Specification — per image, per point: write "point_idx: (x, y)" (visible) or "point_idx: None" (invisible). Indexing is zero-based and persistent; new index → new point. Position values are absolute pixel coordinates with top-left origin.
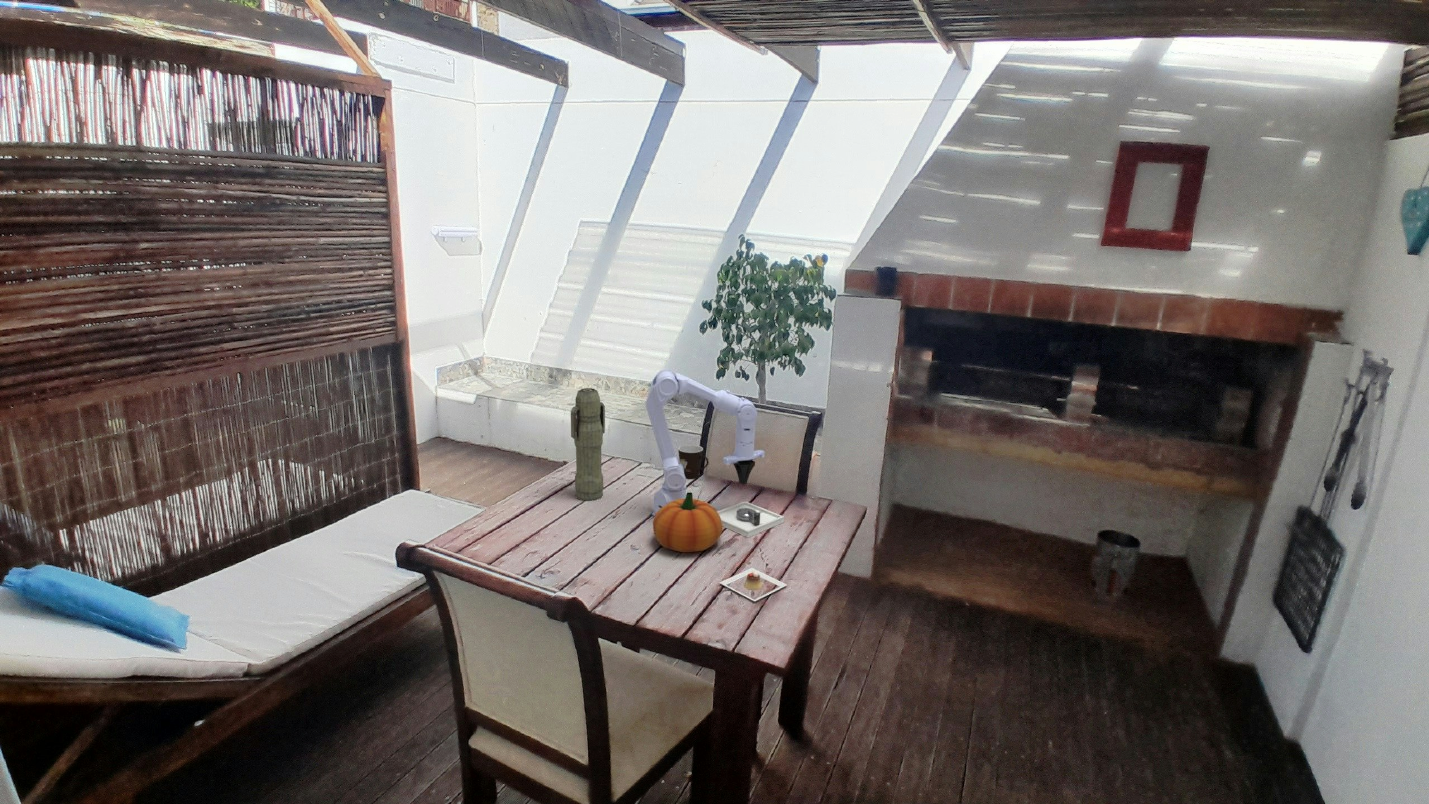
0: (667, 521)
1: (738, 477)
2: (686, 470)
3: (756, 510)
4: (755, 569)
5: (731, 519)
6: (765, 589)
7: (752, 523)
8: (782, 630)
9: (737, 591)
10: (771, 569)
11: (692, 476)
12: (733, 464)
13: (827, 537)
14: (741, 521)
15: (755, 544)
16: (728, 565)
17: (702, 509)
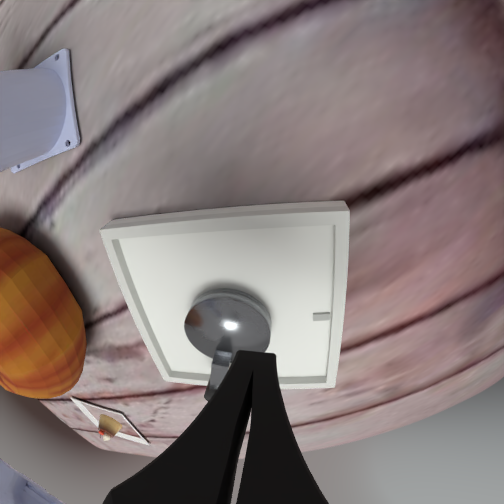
0: None
1: (221, 383)
2: None
3: (323, 294)
4: (125, 418)
5: (172, 293)
6: (122, 431)
7: None
8: (114, 447)
9: (87, 416)
10: (152, 427)
11: None
12: (126, 480)
13: (333, 435)
14: None
15: (170, 389)
16: (92, 387)
17: (10, 388)
